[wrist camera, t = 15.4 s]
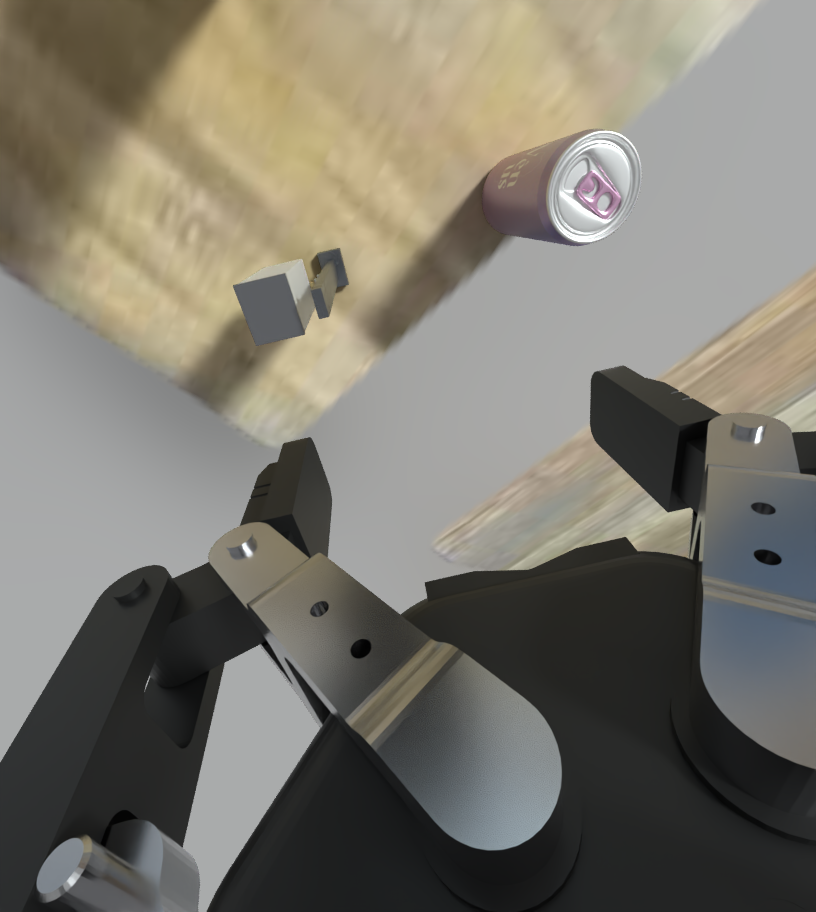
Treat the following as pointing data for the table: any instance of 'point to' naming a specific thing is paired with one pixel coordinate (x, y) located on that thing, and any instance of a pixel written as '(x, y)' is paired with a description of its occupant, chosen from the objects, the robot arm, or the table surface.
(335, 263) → the rail
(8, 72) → the table surface
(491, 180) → the beverage can
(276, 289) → the fader knob
